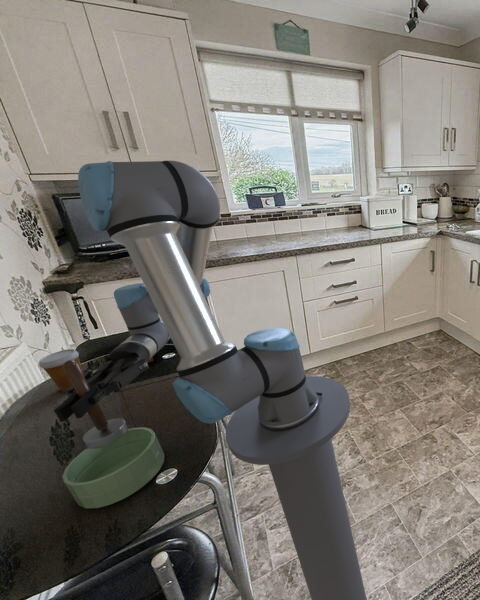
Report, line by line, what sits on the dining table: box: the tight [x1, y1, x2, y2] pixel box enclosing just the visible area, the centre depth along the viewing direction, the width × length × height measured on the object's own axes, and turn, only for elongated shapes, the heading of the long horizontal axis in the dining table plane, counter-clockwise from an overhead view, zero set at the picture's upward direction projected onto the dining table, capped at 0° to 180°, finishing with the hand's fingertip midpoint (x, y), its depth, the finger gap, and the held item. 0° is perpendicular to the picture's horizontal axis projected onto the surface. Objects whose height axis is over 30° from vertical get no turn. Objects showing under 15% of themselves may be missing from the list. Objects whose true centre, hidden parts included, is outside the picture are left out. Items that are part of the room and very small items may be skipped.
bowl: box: [62, 426, 165, 510], centre depth 70 cm, size 15×15×7 cm
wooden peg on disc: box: [63, 360, 129, 449], centre depth 67 cm, size 7×7×19 cm
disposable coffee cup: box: [38, 348, 84, 393], centre depth 109 cm, size 10×10×12 cm
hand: (68, 413), depth 62 cm, fingers closed on wooden peg on disc, 2 cm apart
